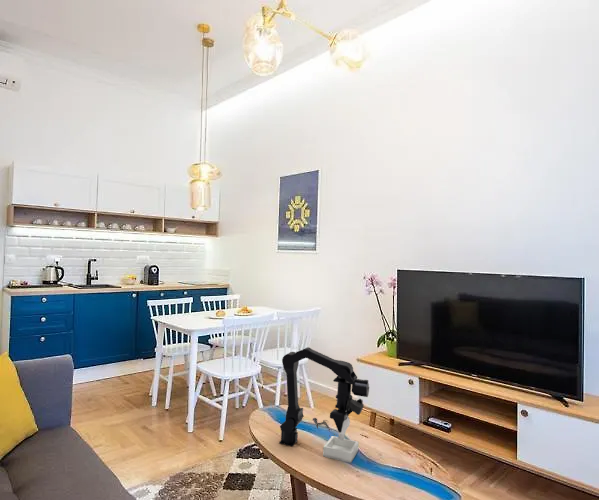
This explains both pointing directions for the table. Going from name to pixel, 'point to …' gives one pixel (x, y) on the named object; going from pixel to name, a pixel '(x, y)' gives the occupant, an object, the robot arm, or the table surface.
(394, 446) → the table surface
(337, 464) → the table surface
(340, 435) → the lightbulb
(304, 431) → the table surface
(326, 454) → the tray
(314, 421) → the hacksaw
